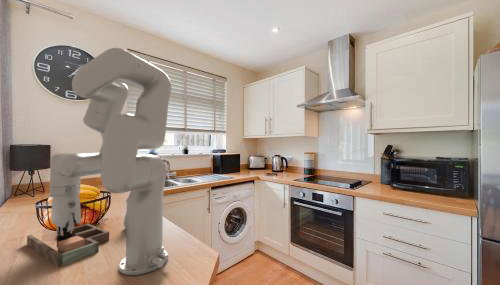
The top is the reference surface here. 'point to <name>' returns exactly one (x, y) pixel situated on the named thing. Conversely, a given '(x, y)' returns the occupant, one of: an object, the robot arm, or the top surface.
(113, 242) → the top surface
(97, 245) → the channel
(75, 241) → the block
